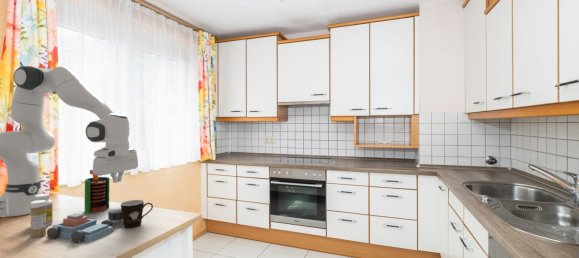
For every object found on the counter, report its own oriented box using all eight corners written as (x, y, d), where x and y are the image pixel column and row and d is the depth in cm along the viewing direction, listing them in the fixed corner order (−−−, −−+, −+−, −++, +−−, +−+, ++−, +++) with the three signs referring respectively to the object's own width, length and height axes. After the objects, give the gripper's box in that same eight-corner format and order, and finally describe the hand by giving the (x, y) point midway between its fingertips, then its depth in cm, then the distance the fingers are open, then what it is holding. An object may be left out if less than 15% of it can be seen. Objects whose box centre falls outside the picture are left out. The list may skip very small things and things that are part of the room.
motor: (94, 214, 133) (94, 172, 132) (79, 212, 134) (78, 171, 134) (112, 207, 143) (112, 168, 142) (97, 206, 144) (97, 168, 144)
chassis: (43, 237, 106) (42, 227, 106) (79, 224, 119) (79, 215, 119) (83, 244, 101) (83, 233, 101) (116, 229, 114) (116, 220, 114)
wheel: (104, 219, 120) (104, 210, 120) (118, 214, 127) (118, 205, 127) (117, 221, 119) (117, 211, 118) (130, 215, 125) (130, 207, 125)
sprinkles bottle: (36, 233, 109) (36, 199, 109) (49, 233, 110) (49, 199, 109) (27, 238, 105) (26, 203, 104) (40, 238, 105) (39, 202, 105)
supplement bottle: (39, 228, 114) (39, 197, 114) (27, 227, 116) (27, 196, 115) (56, 223, 121) (56, 193, 120) (45, 221, 122) (44, 192, 122)
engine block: (63, 229, 109) (63, 216, 109) (75, 224, 114) (75, 212, 114) (74, 230, 108) (74, 218, 107) (87, 226, 112) (87, 213, 112)
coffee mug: (117, 230, 113) (117, 206, 113) (124, 223, 122) (124, 200, 121) (149, 228, 116) (149, 204, 116) (153, 220, 125) (153, 198, 124)
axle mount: (106, 223, 121) (106, 212, 120) (118, 219, 126) (118, 208, 126) (117, 225, 119) (117, 214, 119) (128, 220, 125) (128, 210, 125)
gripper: (130, 148, 133) (130, 176, 133) (90, 152, 113) (89, 186, 113) (141, 148, 131) (141, 178, 132) (102, 153, 111) (102, 187, 112)
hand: (117, 182), depth 122 cm, fingers closed
